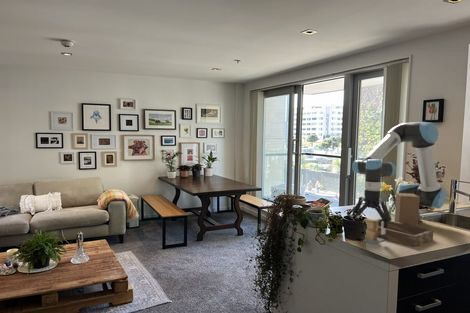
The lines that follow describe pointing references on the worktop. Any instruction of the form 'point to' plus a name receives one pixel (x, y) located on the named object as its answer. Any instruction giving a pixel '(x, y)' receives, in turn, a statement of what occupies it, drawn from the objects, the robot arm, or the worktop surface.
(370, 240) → the mat
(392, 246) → the worktop surface
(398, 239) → the brown wooden tray
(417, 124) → the robot arm
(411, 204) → the wooden block
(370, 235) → the oak block
